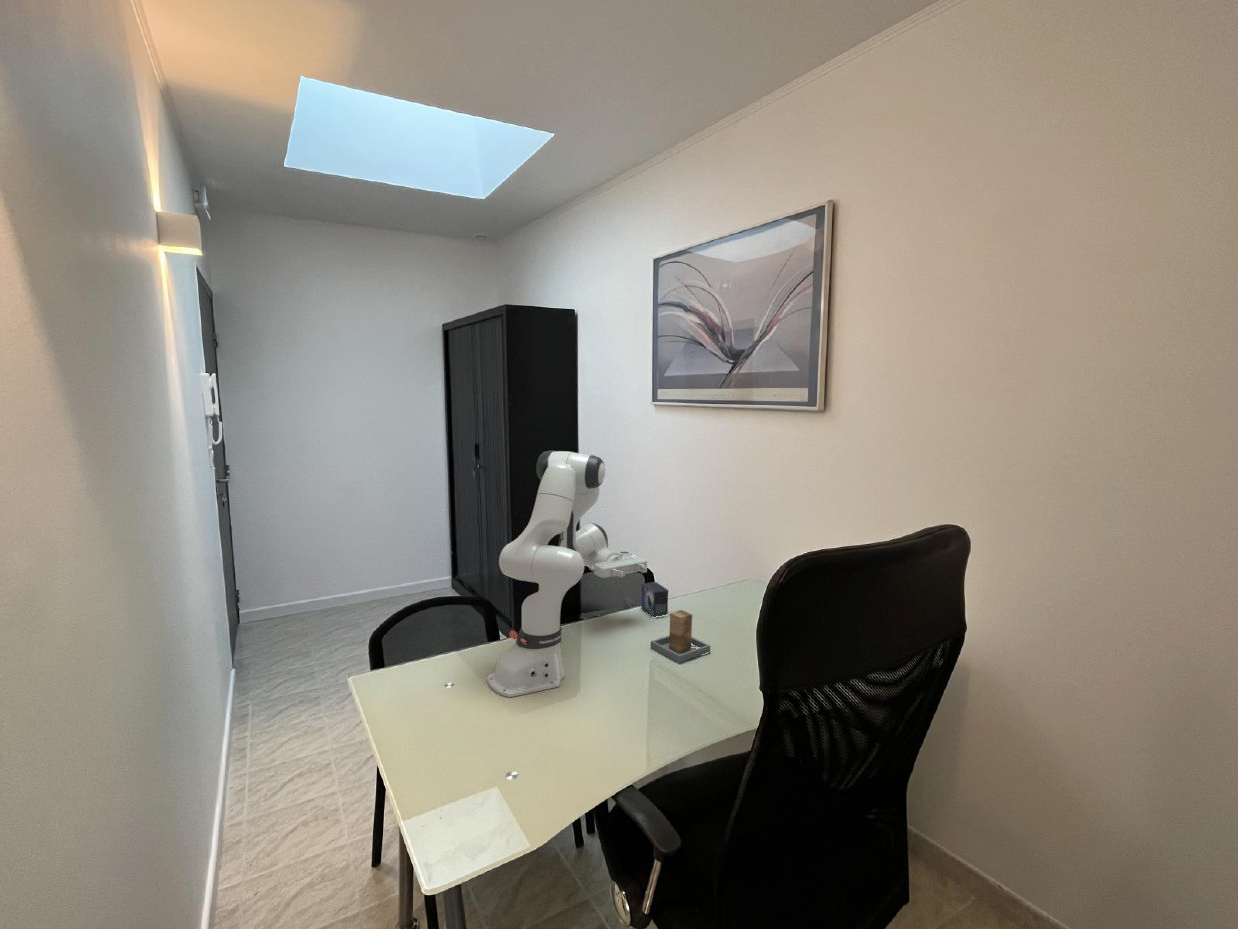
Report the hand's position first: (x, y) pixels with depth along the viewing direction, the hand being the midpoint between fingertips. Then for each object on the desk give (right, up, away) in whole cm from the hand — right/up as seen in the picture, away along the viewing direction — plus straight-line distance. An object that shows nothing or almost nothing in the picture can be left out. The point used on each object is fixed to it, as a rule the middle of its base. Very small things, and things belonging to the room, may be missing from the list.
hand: (634, 572), depth 204 cm
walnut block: (+14, -23, -10) cm, 29 cm away
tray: (+14, -24, -10) cm, 29 cm away
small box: (+8, -20, +22) cm, 31 cm away
